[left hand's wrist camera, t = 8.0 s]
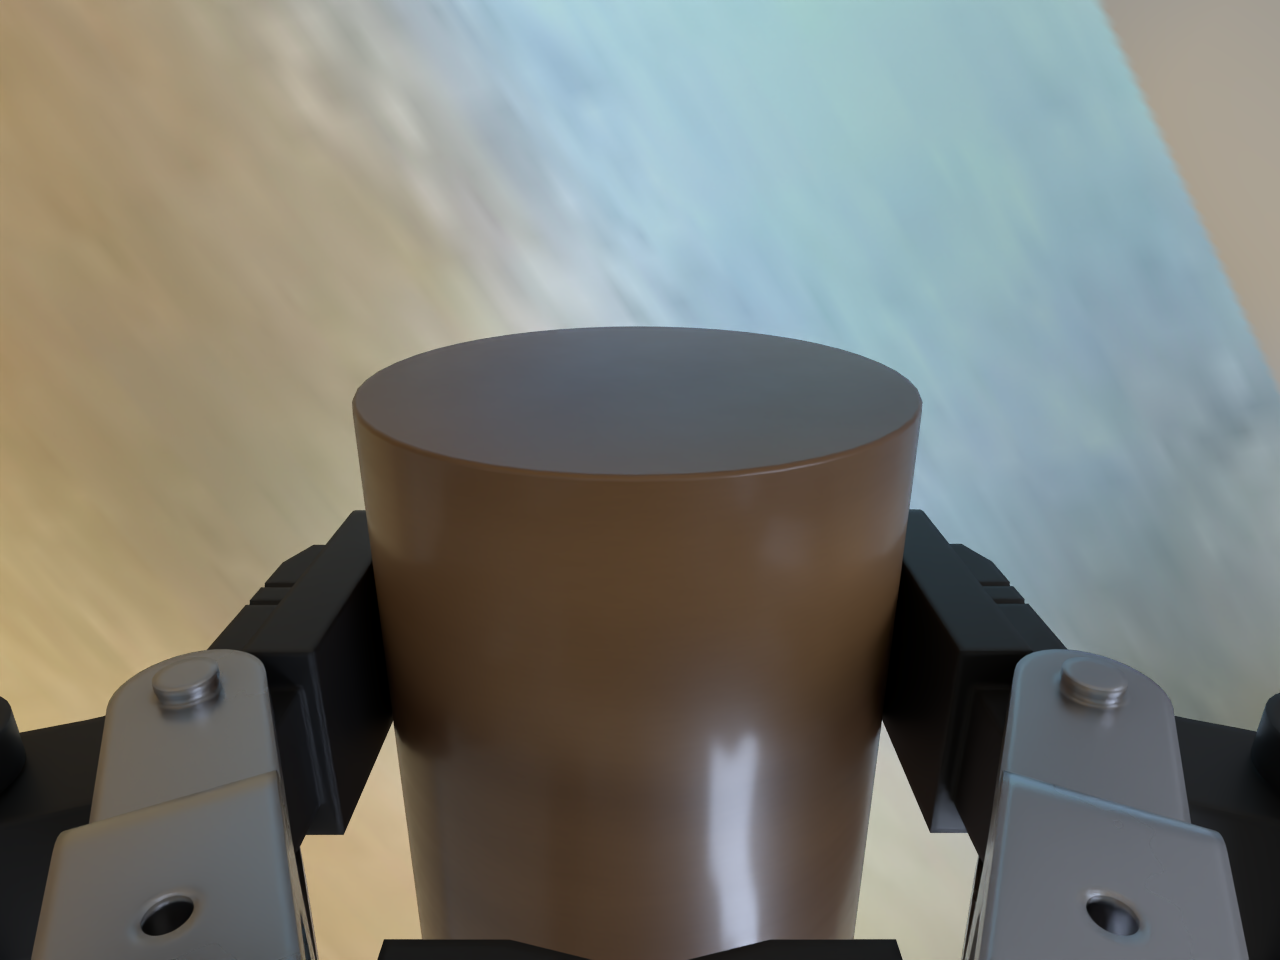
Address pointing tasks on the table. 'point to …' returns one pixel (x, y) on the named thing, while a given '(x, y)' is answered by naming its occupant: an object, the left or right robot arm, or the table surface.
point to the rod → (637, 630)
